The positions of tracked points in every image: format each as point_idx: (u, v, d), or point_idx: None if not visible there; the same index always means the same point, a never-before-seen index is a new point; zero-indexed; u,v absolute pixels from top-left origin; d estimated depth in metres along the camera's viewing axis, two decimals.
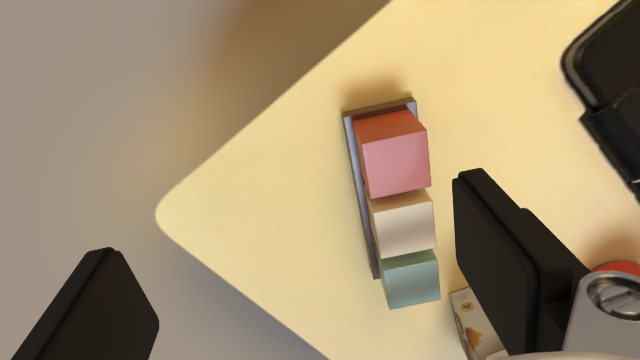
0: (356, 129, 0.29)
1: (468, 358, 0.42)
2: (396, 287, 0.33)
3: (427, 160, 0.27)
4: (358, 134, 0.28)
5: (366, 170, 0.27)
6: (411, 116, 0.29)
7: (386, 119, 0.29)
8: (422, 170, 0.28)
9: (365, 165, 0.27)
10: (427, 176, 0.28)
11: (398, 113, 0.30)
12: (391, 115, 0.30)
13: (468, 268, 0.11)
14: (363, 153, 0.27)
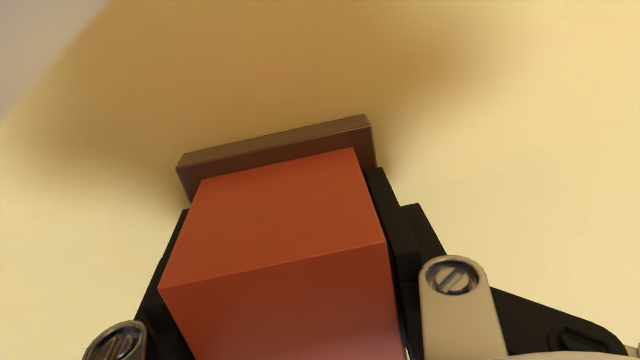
0: (190, 212, 0.10)
1: None
2: None
3: (393, 326, 0.08)
4: (181, 235, 0.09)
5: (197, 357, 0.09)
6: (351, 174, 0.10)
7: (283, 180, 0.10)
8: (380, 350, 0.09)
9: (190, 344, 0.08)
10: None
11: (322, 161, 0.11)
12: (302, 165, 0.11)
13: None
14: (173, 314, 0.08)
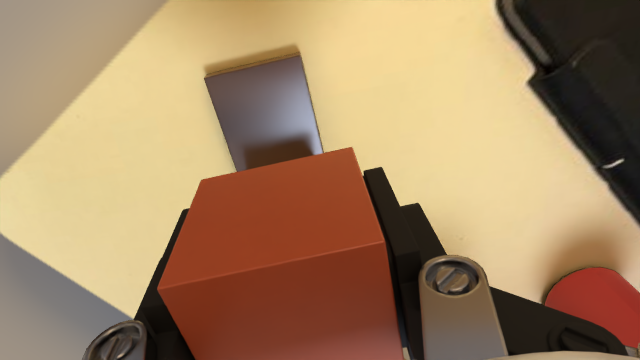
0: (190, 212, 0.10)
1: None
2: None
3: (393, 326, 0.08)
4: (181, 235, 0.09)
5: (197, 357, 0.09)
6: (351, 174, 0.10)
7: (283, 180, 0.10)
8: (379, 351, 0.09)
9: (190, 344, 0.08)
10: None
11: (321, 162, 0.11)
12: (302, 166, 0.11)
13: None
14: (173, 314, 0.08)
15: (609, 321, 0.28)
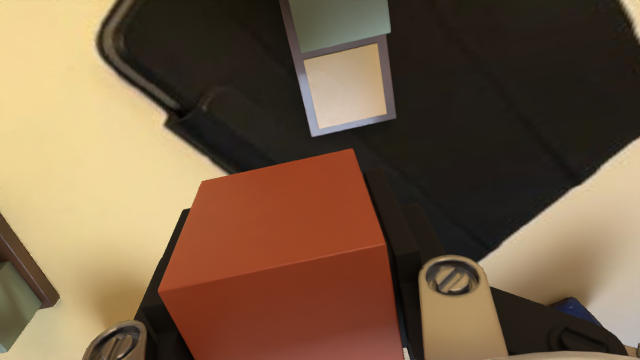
0: (191, 214, 0.10)
1: None
2: None
3: (393, 328, 0.08)
4: (181, 237, 0.09)
5: (197, 359, 0.09)
6: (351, 176, 0.10)
7: (283, 181, 0.10)
8: (380, 352, 0.09)
9: (190, 346, 0.08)
10: None
11: (322, 163, 0.11)
12: (302, 168, 0.11)
13: None
14: (174, 316, 0.08)
15: None
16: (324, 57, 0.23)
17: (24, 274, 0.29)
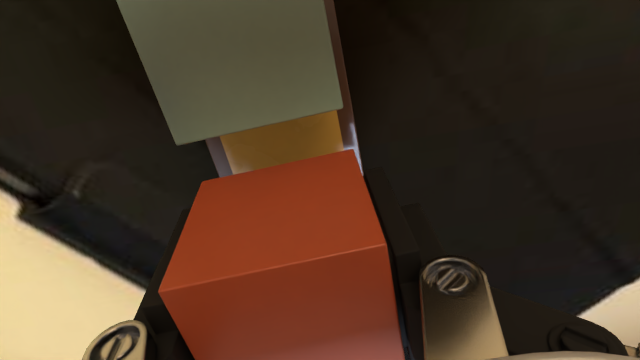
0: (191, 214, 0.10)
1: None
2: None
3: (394, 329, 0.08)
4: (181, 238, 0.09)
5: (197, 359, 0.09)
6: (352, 176, 0.10)
7: (284, 182, 0.10)
8: (380, 353, 0.09)
9: (191, 347, 0.08)
10: None
11: (322, 163, 0.11)
12: (302, 168, 0.11)
13: None
14: (174, 317, 0.08)
15: None
16: None
17: None
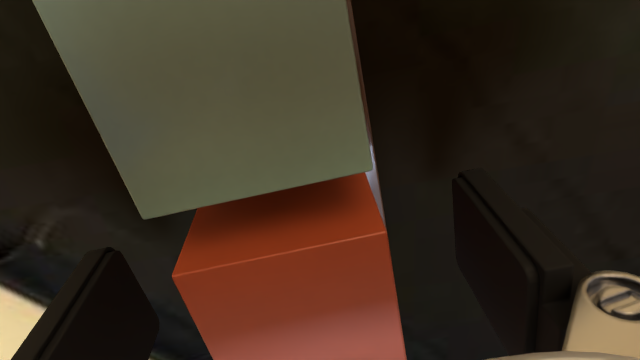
0: None
1: None
2: None
3: (394, 314, 0.09)
4: (192, 228, 0.09)
5: (207, 343, 0.09)
6: None
7: None
8: (381, 337, 0.09)
9: (201, 330, 0.09)
10: (396, 352, 0.09)
11: None
12: None
13: (468, 268, 0.11)
14: (186, 301, 0.08)
15: None
16: None
17: None
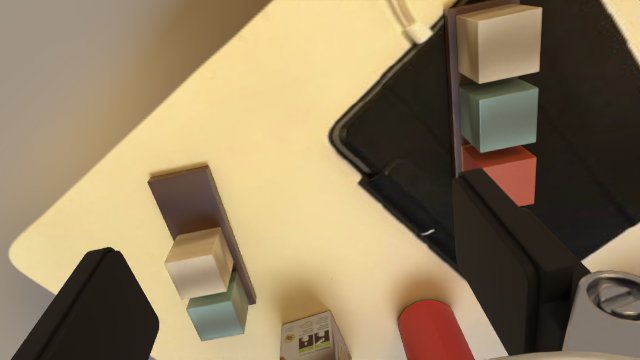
0: (470, 155, 0.35)
1: None
2: (201, 323, 0.39)
3: (533, 182, 0.33)
4: (474, 159, 0.34)
5: None
6: None
7: None
8: (528, 190, 0.34)
9: None
10: (532, 195, 0.34)
11: None
12: None
13: (468, 268, 0.11)
14: None
15: (421, 338, 0.41)
16: None
17: (243, 280, 0.42)
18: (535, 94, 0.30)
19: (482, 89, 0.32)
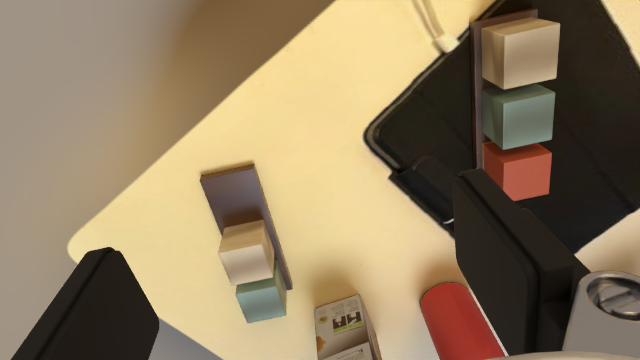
0: (492, 151, 0.39)
1: None
2: (248, 306, 0.43)
3: (549, 174, 0.37)
4: (496, 155, 0.38)
5: (504, 182, 0.38)
6: None
7: None
8: (544, 182, 0.38)
9: (504, 178, 0.37)
10: (547, 186, 0.38)
11: None
12: None
13: (468, 268, 0.11)
14: (504, 169, 0.37)
15: (445, 316, 0.46)
16: None
17: (282, 268, 0.46)
18: (552, 98, 0.34)
19: (504, 93, 0.36)
